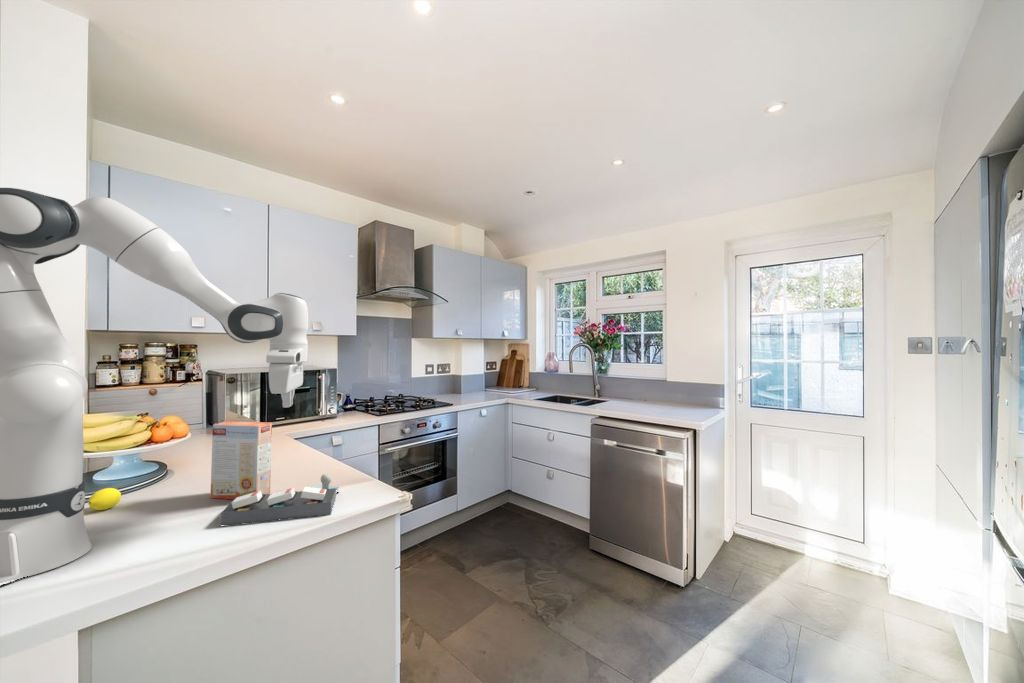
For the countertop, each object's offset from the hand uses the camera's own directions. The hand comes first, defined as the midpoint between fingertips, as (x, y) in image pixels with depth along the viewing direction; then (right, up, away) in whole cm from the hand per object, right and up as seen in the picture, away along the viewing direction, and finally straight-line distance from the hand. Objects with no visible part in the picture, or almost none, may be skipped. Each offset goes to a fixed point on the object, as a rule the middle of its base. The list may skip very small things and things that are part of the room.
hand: (287, 406), depth 102 cm
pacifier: (+6, -28, +11) cm, 30 cm away
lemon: (-46, -26, -3) cm, 53 cm away
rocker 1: (-6, -22, -6) cm, 24 cm away
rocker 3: (+8, -22, -2) cm, 24 cm away
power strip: (0, -27, -2) cm, 27 cm away
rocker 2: (+1, -22, -4) cm, 23 cm away
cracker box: (-18, -27, +8) cm, 33 cm away
